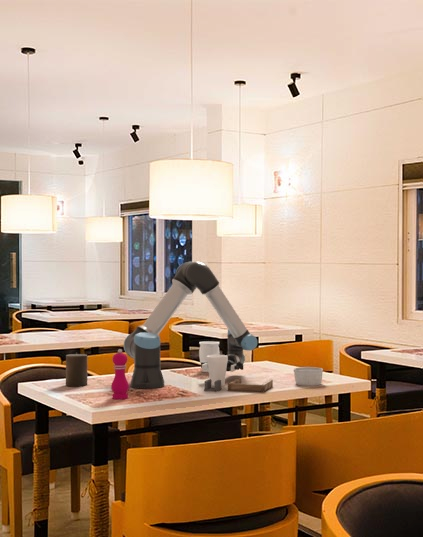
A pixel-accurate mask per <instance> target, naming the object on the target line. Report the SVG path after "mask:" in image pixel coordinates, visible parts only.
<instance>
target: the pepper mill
mask: <svg viewBox="0 0 423 537" xmlns="http://www.w3.org/2000/svg"><path fill="white" fill-rule="evenodd" d="M127 362H128V355H127V354H126V353H124V352H123V349H122V348H118V350H117V353H114V355H113V356H112V363H113V369H114V372H115V373H114V378H113V380H112V383H111V385H110V386H111V388H110V389H111V391H112V399H113V400H127V399H129V394H128V393H127V392H128V391H129V389H130V385H129V381H128V379H127V377H126V369H127V364H126V363H127Z"/></svg>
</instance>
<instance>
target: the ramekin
mask: <svg viewBox="0 0 423 537" xmlns="http://www.w3.org/2000/svg"><path fill="white" fill-rule="evenodd" d="M323 372H324V369H323V368H322V367H315V366H300V367H295V368H293V374H294V381H295V383H296V385H297V386H307V387H314V386H320V385H321V384H322V382H323Z"/></svg>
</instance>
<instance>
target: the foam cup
mask: <svg viewBox="0 0 423 537" xmlns="http://www.w3.org/2000/svg"><path fill="white" fill-rule="evenodd" d="M227 355H228V354H226V355H225V354H220V355H208V356H207V363H208V370H209V372H208V376H209V377H208V378H209V379H211V386H212V387H214V382H215V381H217V380H221V387H223V386H225V383H226V378H227V377H226V376H227V371H226V369H227V361H228V356H227Z"/></svg>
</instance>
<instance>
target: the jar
mask: <svg viewBox="0 0 423 537" xmlns="http://www.w3.org/2000/svg"><path fill="white" fill-rule="evenodd" d="M198 344H199V350H198V356H199V357H198V358H199V364H201V363H202V362H207V356H208V355H221V354H220V353H221V352H220V347H219V346H220V341H215V340H211V341H209V340H208V341H207V340H206V341H205V340H204V341H199V343H198ZM200 372H203V373H209V370H208V369H206V370H204V371H202V369H201V371H200Z"/></svg>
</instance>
